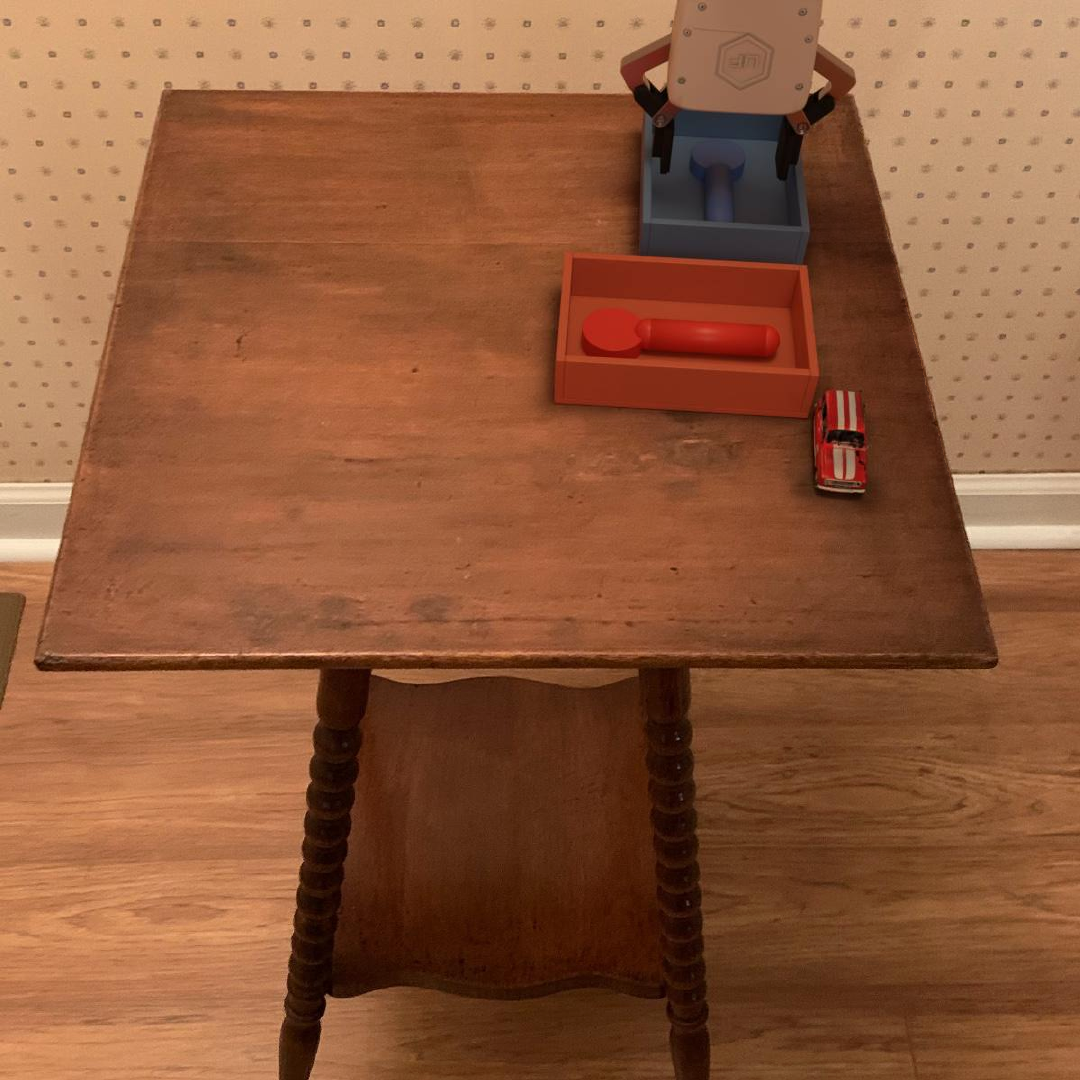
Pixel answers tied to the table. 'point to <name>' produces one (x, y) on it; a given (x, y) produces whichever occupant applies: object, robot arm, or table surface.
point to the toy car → (840, 442)
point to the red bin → (692, 296)
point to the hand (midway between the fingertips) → (722, 166)
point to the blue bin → (759, 196)
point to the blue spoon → (718, 175)
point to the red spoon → (672, 336)
